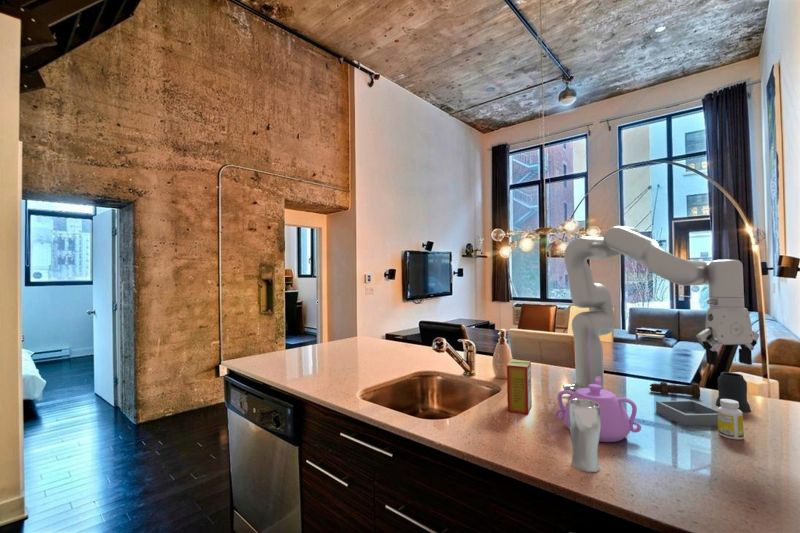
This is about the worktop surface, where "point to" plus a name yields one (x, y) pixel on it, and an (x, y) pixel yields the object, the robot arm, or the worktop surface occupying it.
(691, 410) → the tray
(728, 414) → the supplement bottle
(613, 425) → the purple lidded sugar bowl
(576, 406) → the beer glass
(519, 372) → the baking soda box
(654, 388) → the bolt
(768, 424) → the worktop surface
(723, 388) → the mug
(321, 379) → the worktop surface
